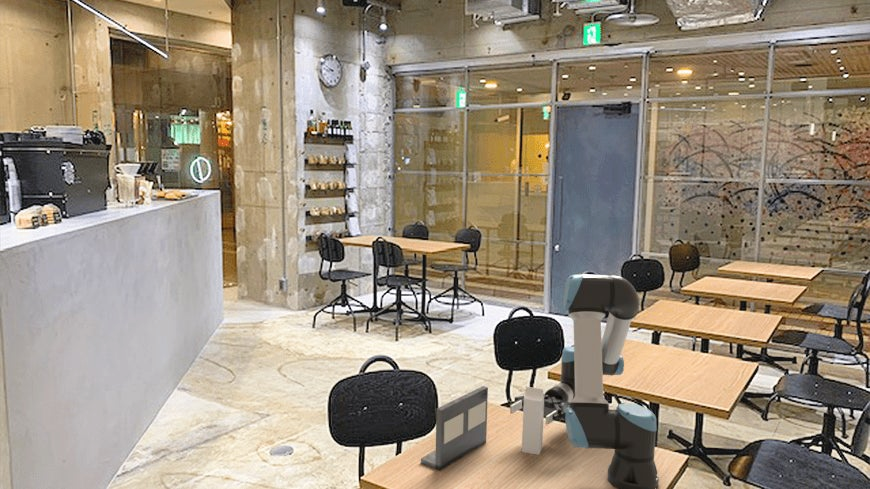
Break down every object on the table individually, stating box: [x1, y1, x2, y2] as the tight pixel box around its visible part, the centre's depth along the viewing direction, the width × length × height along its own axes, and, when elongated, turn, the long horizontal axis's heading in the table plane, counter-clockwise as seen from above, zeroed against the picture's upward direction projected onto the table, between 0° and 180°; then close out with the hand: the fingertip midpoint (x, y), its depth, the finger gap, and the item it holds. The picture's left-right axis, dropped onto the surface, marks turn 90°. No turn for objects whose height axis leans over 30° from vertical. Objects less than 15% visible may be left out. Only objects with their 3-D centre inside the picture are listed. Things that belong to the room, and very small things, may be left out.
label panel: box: [420, 385, 489, 471], centre depth 208 cm, size 8×26×20 cm, turn 142°
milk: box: [521, 386, 545, 456], centre depth 211 cm, size 6×6×22 cm
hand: (528, 415), depth 208 cm, fingers open, 13 cm apart
